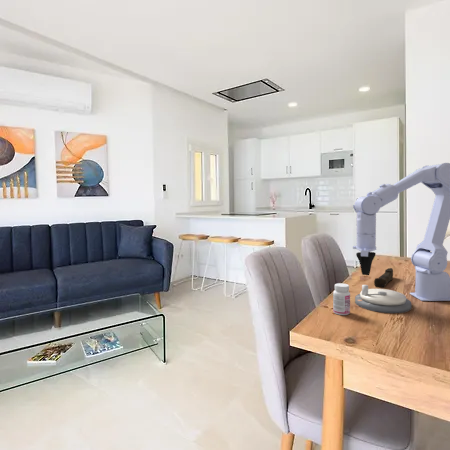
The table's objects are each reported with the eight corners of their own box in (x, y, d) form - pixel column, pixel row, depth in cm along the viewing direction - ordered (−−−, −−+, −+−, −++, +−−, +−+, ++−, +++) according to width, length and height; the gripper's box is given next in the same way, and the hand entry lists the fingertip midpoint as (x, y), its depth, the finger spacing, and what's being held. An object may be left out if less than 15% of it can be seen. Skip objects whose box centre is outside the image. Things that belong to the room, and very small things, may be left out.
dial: (392, 292, 109) (392, 279, 108) (414, 305, 96) (415, 290, 95) (353, 293, 109) (353, 280, 108) (371, 306, 96) (371, 291, 95)
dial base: (396, 296, 110) (396, 291, 110) (422, 313, 94) (422, 307, 94) (348, 296, 111) (348, 292, 111) (366, 313, 95) (366, 308, 95)
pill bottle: (348, 316, 93) (348, 287, 92) (331, 313, 95) (331, 285, 94) (351, 311, 97) (351, 283, 96) (335, 308, 99) (335, 282, 98)
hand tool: (385, 289, 119) (385, 277, 119) (373, 287, 122) (374, 275, 122) (398, 279, 133) (399, 268, 133) (388, 277, 136) (388, 266, 136)
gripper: (355, 230, 113) (354, 269, 114) (350, 235, 100) (350, 278, 101) (377, 231, 110) (376, 270, 111) (375, 236, 97) (375, 280, 98)
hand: (365, 274), depth 106 cm, fingers closed
